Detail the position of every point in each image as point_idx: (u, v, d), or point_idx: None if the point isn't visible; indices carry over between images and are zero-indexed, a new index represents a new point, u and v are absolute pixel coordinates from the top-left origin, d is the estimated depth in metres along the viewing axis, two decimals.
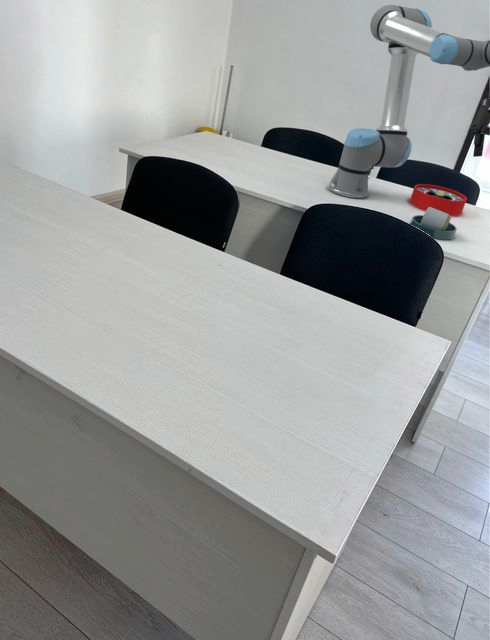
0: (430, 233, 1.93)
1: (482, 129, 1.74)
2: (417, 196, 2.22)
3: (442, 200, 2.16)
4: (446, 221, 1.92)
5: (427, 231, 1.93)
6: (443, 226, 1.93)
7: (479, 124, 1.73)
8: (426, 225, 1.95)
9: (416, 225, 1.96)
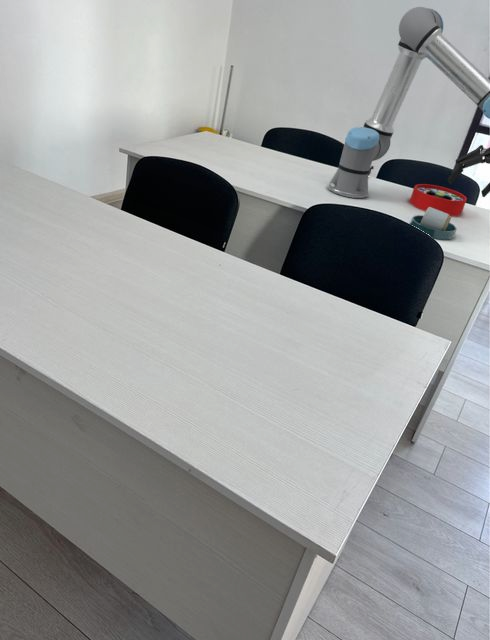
0: (430, 233, 1.93)
1: (461, 162, 2.01)
2: (417, 196, 2.22)
3: (442, 200, 2.16)
4: (446, 221, 1.92)
5: (427, 231, 1.93)
6: (443, 226, 1.93)
7: (460, 158, 2.03)
8: (426, 225, 1.95)
9: (416, 225, 1.96)
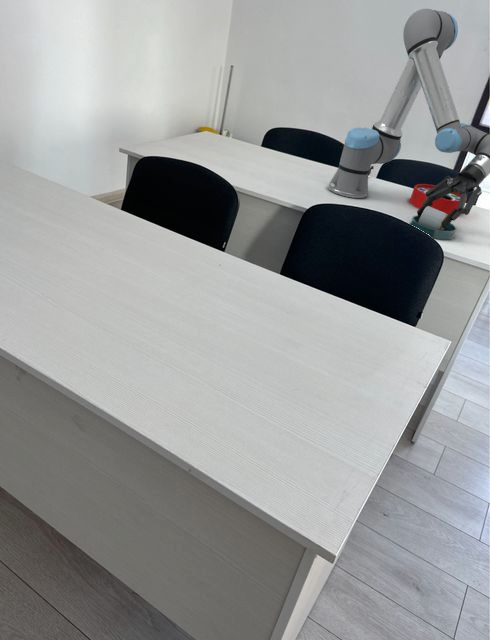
0: (430, 233, 1.93)
1: (431, 195, 1.99)
2: (417, 196, 2.22)
3: (442, 200, 2.16)
4: None
5: (427, 231, 1.93)
6: (440, 225, 1.93)
7: (429, 190, 2.00)
8: (424, 224, 1.96)
9: (416, 225, 1.96)
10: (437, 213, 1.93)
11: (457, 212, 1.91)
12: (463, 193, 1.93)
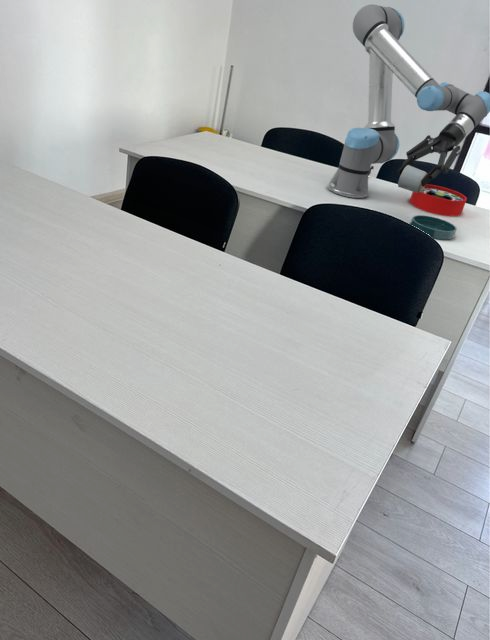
0: (430, 233, 1.93)
1: (411, 154, 2.01)
2: (417, 196, 2.22)
3: (442, 200, 2.16)
4: None
5: (427, 231, 1.93)
6: (420, 183, 1.95)
7: (410, 150, 2.02)
8: (404, 183, 1.98)
9: (416, 225, 1.96)
10: (417, 171, 1.96)
11: (436, 170, 1.93)
12: (443, 152, 1.95)
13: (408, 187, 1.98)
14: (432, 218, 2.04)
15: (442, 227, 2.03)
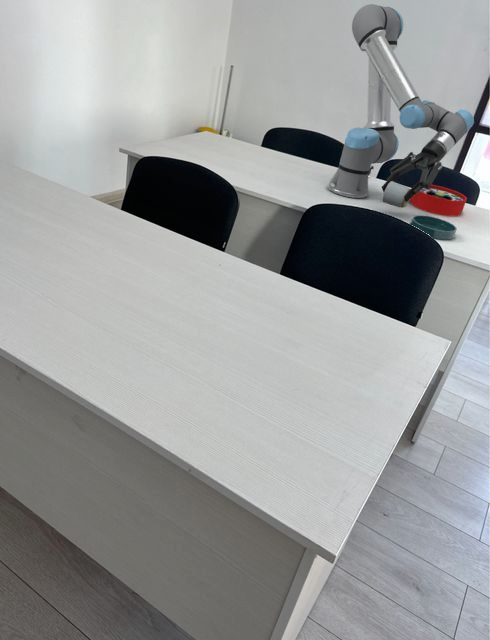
0: (430, 233, 1.93)
1: (395, 171, 2.08)
2: (417, 196, 2.22)
3: (442, 200, 2.16)
4: None
5: (427, 231, 1.93)
6: (403, 199, 2.02)
7: (393, 166, 2.09)
8: (388, 198, 2.04)
9: (416, 225, 1.96)
10: (400, 187, 2.02)
11: (419, 186, 2.00)
12: (425, 168, 2.01)
13: (392, 202, 2.05)
14: (432, 218, 2.04)
15: (442, 227, 2.03)
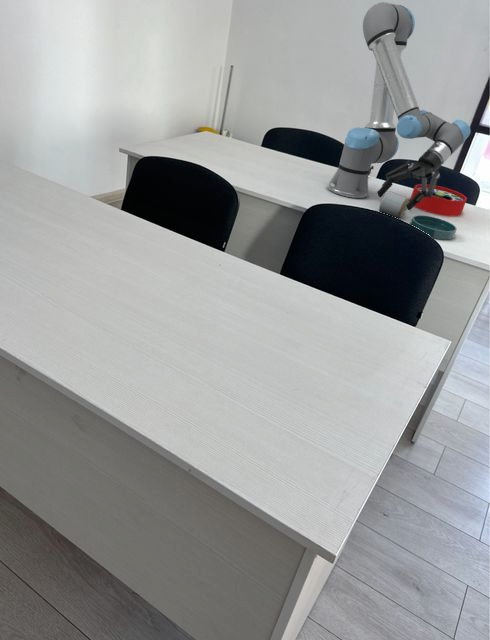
0: (430, 233, 1.93)
1: (390, 176, 2.10)
2: None
3: (442, 200, 2.16)
4: (403, 204, 2.03)
5: (427, 231, 1.93)
6: (400, 209, 2.04)
7: (389, 172, 2.11)
8: (385, 208, 2.06)
9: (416, 225, 1.96)
10: (397, 197, 2.04)
11: (421, 195, 2.01)
12: (423, 177, 2.03)
13: (389, 212, 2.07)
14: (432, 218, 2.04)
15: (442, 227, 2.03)
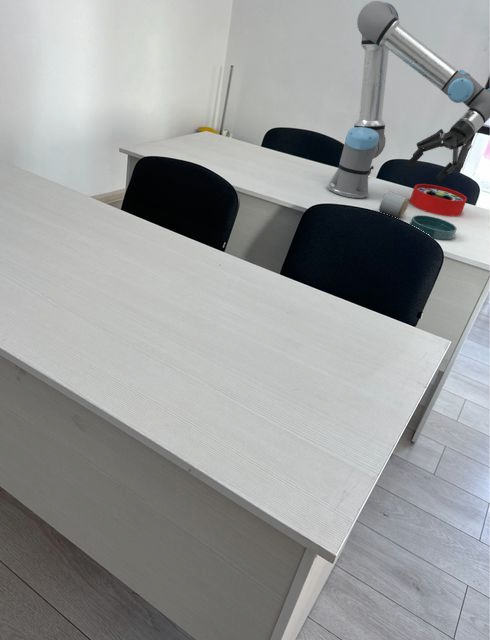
0: (430, 233, 1.93)
1: (421, 146, 2.11)
2: (417, 196, 2.22)
3: (442, 200, 2.16)
4: (403, 204, 2.03)
5: (427, 231, 1.93)
6: (400, 209, 2.04)
7: (421, 141, 2.12)
8: (385, 208, 2.06)
9: (416, 225, 1.96)
10: (397, 197, 2.04)
11: (452, 166, 2.02)
12: (455, 148, 2.04)
13: (389, 212, 2.07)
14: (432, 218, 2.04)
15: (442, 227, 2.03)
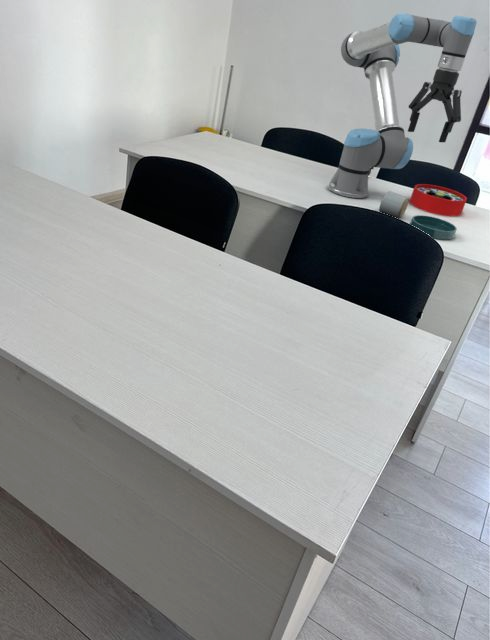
0: (430, 233, 1.93)
1: (414, 108, 2.02)
2: (417, 196, 2.22)
3: (442, 200, 2.16)
4: (403, 204, 2.03)
5: (427, 231, 1.93)
6: (400, 209, 2.04)
7: (411, 103, 2.03)
8: (385, 208, 2.06)
9: (416, 225, 1.96)
10: (397, 197, 2.04)
11: (449, 124, 1.93)
12: (445, 102, 1.92)
13: (389, 212, 2.07)
14: (432, 218, 2.04)
15: (442, 227, 2.03)
